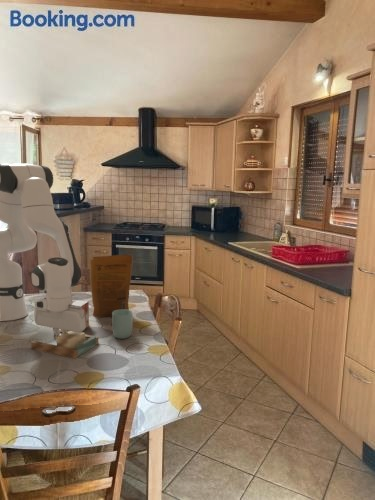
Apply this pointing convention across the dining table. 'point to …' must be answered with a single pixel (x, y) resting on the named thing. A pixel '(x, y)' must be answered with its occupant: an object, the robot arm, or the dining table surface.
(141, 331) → the dining table surface
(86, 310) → the small box
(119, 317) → the cup
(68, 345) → the tan tapered block
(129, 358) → the dining table surface
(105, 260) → the pancake mix bag
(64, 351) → the bay
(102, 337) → the dining table surface
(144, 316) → the dining table surface
